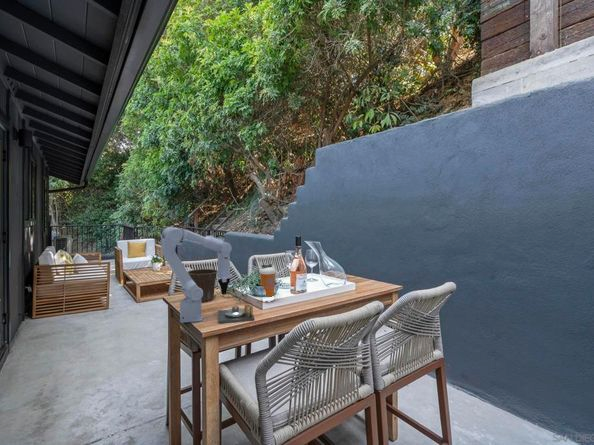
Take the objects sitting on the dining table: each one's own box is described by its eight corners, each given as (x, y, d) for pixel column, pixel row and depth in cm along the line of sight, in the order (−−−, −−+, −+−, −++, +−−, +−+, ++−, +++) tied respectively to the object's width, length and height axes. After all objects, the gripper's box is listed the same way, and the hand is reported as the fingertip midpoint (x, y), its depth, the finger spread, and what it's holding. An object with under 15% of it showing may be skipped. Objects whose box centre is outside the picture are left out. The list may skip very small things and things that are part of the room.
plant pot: (217, 295, 192) (217, 268, 192) (218, 302, 177) (217, 273, 176) (188, 297, 188) (188, 269, 188) (186, 304, 172) (186, 274, 172)
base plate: (218, 323, 143) (218, 321, 143) (218, 312, 158) (217, 310, 158) (254, 320, 147) (254, 318, 146) (250, 310, 162) (250, 307, 162)
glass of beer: (256, 300, 180) (256, 264, 179) (269, 297, 186) (269, 263, 185) (265, 304, 173) (265, 266, 172) (279, 301, 179) (278, 265, 178)
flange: (220, 315, 149) (220, 306, 149) (230, 309, 158) (230, 300, 158) (247, 318, 145) (247, 308, 145) (256, 311, 155) (256, 302, 155)
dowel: (246, 317, 148) (246, 307, 148) (246, 316, 149) (246, 306, 149) (250, 316, 148) (250, 307, 148) (250, 315, 150) (250, 306, 150)
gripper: (232, 268, 151) (233, 297, 152) (231, 263, 165) (231, 289, 166) (217, 269, 149) (217, 298, 150) (217, 264, 163) (217, 290, 164)
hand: (224, 293), depth 158 cm, fingers closed
